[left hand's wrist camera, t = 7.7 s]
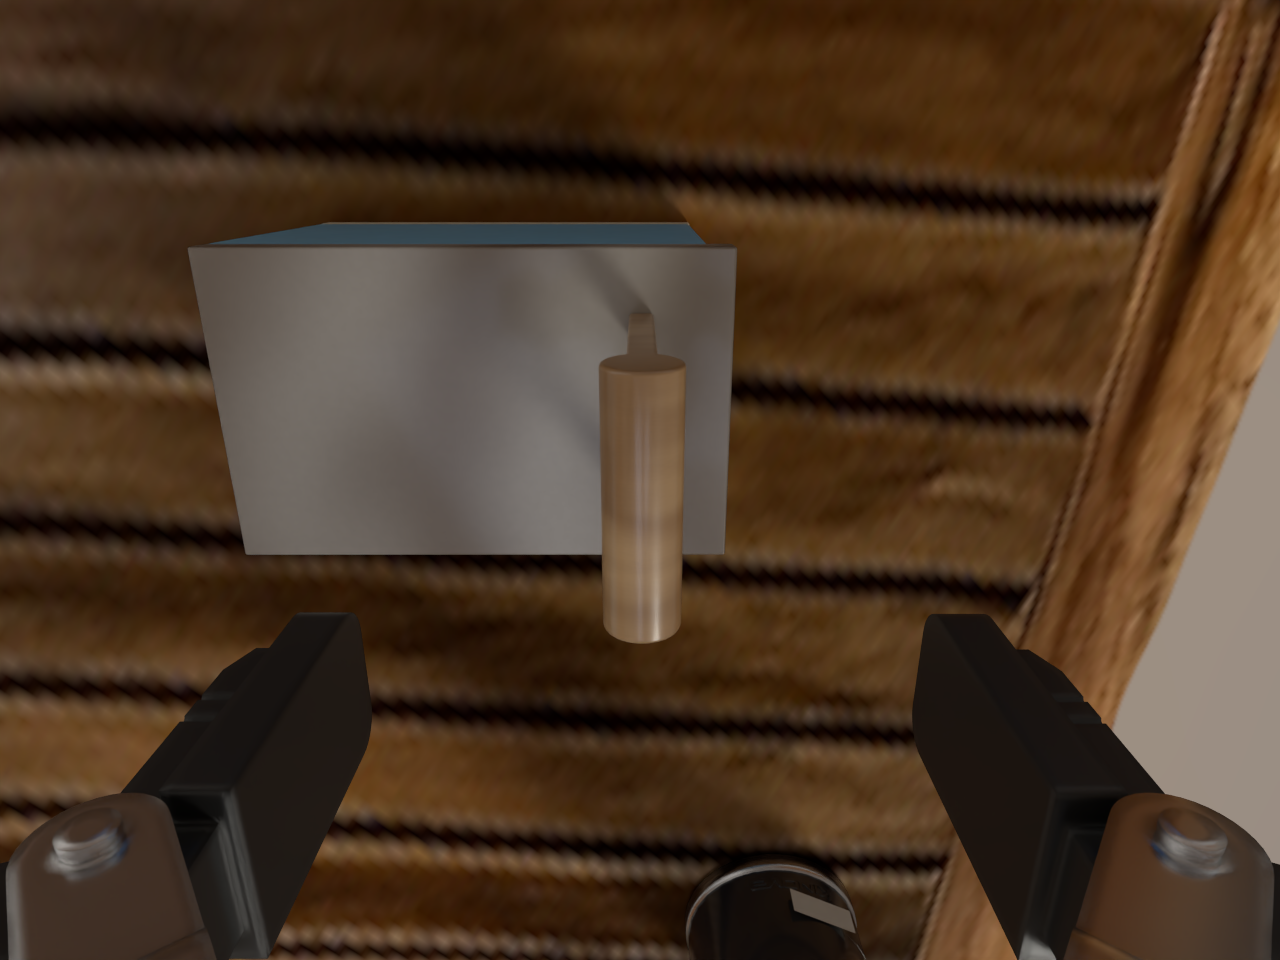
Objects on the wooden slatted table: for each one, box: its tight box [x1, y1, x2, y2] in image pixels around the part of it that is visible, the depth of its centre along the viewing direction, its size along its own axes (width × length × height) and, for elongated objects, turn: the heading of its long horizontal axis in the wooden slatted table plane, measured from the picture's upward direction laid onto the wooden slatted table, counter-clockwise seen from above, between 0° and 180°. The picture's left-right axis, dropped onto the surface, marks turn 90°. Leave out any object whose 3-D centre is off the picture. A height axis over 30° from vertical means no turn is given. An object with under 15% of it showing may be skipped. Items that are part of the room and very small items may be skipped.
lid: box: [188, 244, 737, 644], centre depth 21 cm, size 15×9×9 cm, turn 90°
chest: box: [210, 222, 705, 244], centre depth 30 cm, size 14×9×10 cm, turn 90°
